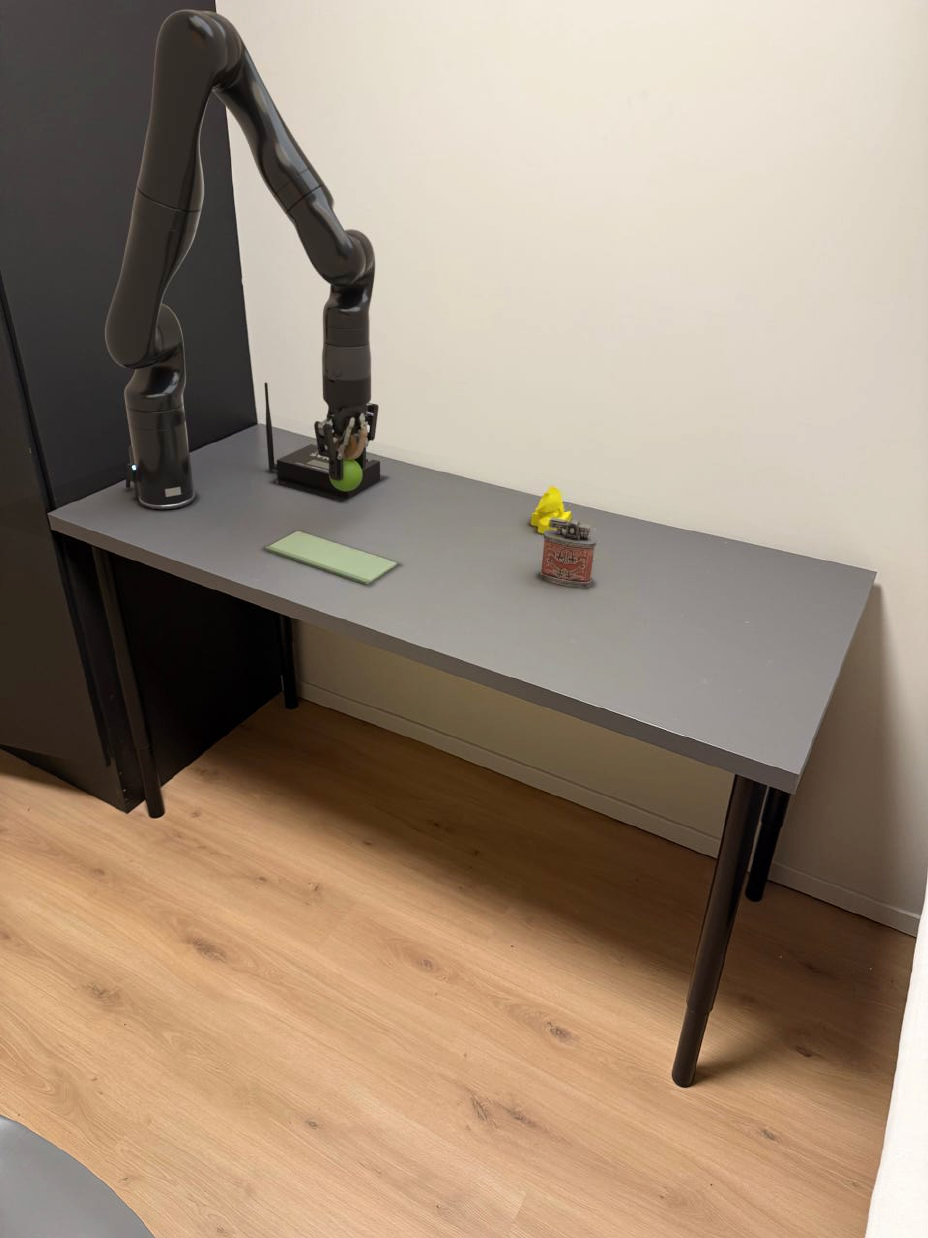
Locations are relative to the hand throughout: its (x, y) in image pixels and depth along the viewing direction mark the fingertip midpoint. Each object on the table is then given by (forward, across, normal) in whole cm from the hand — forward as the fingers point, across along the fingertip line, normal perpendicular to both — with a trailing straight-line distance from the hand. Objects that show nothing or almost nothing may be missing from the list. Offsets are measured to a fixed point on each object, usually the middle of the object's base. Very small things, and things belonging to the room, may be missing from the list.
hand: (347, 473), depth 150 cm
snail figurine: (+3, 0, 0) cm, 3 cm away
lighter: (+9, -4, +38) cm, 40 cm away
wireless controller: (+10, -14, -18) cm, 25 cm away
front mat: (+10, +10, +4) cm, 15 cm away
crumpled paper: (+10, -22, +27) cm, 36 cm away
